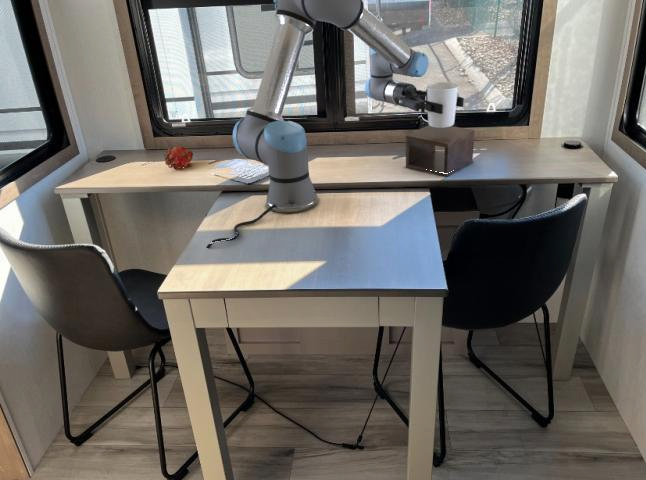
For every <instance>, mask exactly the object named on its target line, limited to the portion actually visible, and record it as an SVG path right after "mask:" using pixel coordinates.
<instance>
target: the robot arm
mask: <svg viewBox="0 0 646 480" xmlns="http://www.w3.org/2000/svg"><path fill="white" fill-rule="evenodd" d="M273 3H274V8H275V11H276V12H275V16H274V17H275V20H276V22H277V28H276V31H275V34H274V36H273V41H272V44H271V47H270V50H269V54H268V57H267V61H266V64H265V67H264V71H263V74H262V77H261V80H260V83H259V87H258V91H257V93H256V97H255V100H254V104H253V106H251V107H248V108H247V110H246V112H245V116H244V117H242V118H240V120H238V121H237V122H236V123H235V125H234V127H233V130H232V142H233V145H234V147H235V150H236V151H237V152H238V153H239V154H240V155H242V156H243V157H245V158H247V159H249V160H253V161H256V162H259V163H260V164H263V165H266V166H268V167H269V185H268V193H267V196H266V206H267V209H266V210H264V211H263V212H262V213H261V214H260V215H258V216H257V217H256V218H254V219H252V220H248V221H242V222H239V223H237V224H236V225H234V227H233V231H234V233H235V235H236V234H237V233H236V232H238V234H237V236H235V235H234V236H235V237H234V236H233V237H234V238H232V239H230V240H226V239H229V238H230V237H220V238H215V239H213V240H211V241H212V242H215V241H220V242H222V241H221V240H226V241H225V242H232V241H234V240H236V239H238V238H239V236H240V233H239V230H238V228H240V227H241V226H247V225H252V224H255V223H257V222H258V221H260V220H262V218H264V217H265V216H266V215H267V214H268V213H269V212H271V211H273V212H275V213H282V214H293V213H301V212H304V211H308V210H309V209H311V208H313V207H315V206H316V205H317V203H318V192H317V191H316V190H315V187H314V185H313V182H312V180H311V177H310V171H309V170H310V168H309V157H308V141H307V137H306V136H307V135H306V131H305V128H304V127H303V126H302V125H301V124H299V123H298V122H294V121H291V120H287V121H286V120H284V118H283V115H282V114H283V112H284V108H285V105H286V101H287V98H288V95H289V91H290V89H291V85H292V83H293V79H294V75H295V72H296V69H297V66H298V63H299V60H300V58H301V57H300V56H301V53H302V50H303V46H304V44H305V41H306V37H307V36H308V35H309V34H312V33H313V32H314V29H315V25H316V23H317V22H325V23H328V24H329V23H330V24H333V26H336V27H338V28H339V29H340V30H343V31H349V32H350V33H351V34H352V35H354V36H355V37H356V38H358V40H360V41H361V42H363V43H364V44H365V45H366V46H368V47H369V49H370V54H369V57H370V77H368V79H367V80H366V81H365V85H364V92H365V93H364V94H365V95H366V97H368V98H369V99H372V100H375V101H378V102H383V103H387V104H392V105H393V106H394V107H397V106H400V107H403V108H407V109H410V110H413V111H415V112H419V111H420V112H421V114H423V113H424V114H425V113H426V112H428V111H431V112H435V113H439V114H443V105H442V104H438V103H434V102H429V101H427V88H426V89H425V90H422V89H417V87H416V86H415V85H414V84H413V83H408V82H404V81H399V80H395V79H394V74H395V75H400V76H404V77H411V78H422V77H423V76H424V75H426V73H427V71H428V69H429V65H430V64H429V63H430V61H429V57H428V55H427V54H426V53H424V52H421V51H415V50H414V49H412V48H411V47H410V46H409V45H407V43H406V42H405V41H403V40H402V39H401V37H399V36H398V35H396V34H395V33H394V32H393V31H392V30H391V29H390V28H389V27H388V26H386V25H385V23H383V22H382V21H381V20H380V19H379V18H378V17H376V16H375V15H374V14H373V13H372V12H371V11H370V10H369V9H367V8H366V7H365V3H364V1H363V0H273ZM464 103H465V102H464V97H461V96H457V104H456V107H459V108H463V107H464ZM220 242H219V243H220ZM214 244H215V243H213V244H209V243H208V244H207V245H206V247H205V249H206V248H208V249H210V248H211V247H212V245H214ZM208 249H207V250H208Z"/></svg>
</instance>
